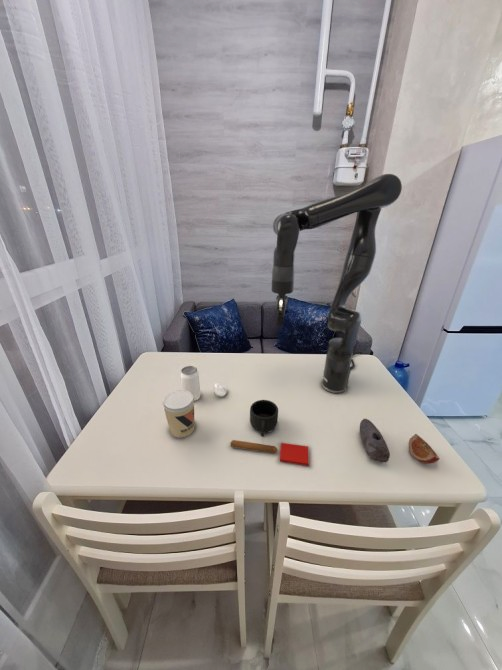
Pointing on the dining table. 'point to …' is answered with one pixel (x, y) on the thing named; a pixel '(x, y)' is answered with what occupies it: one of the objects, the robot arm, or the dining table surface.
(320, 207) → the robot arm
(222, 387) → the dumpling
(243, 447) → the spatula
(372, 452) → the perforated stone tool
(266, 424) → the mug
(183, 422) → the beige lidded canister
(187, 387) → the can
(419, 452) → the fruit slice
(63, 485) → the dining table surface
